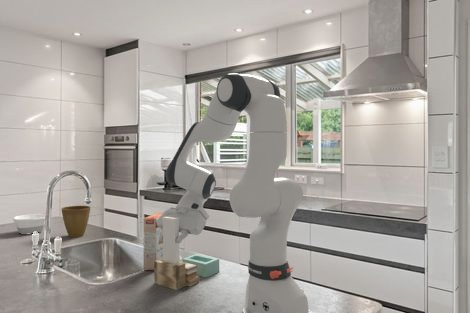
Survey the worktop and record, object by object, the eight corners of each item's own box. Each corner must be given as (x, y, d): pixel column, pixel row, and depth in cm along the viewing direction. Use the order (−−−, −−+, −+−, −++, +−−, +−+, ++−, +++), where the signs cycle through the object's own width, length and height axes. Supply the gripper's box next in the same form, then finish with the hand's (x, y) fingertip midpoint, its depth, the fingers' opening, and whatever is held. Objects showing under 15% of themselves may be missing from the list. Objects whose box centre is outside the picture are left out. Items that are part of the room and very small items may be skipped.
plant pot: (66, 240, 195) (65, 210, 195) (58, 235, 207) (58, 207, 206) (94, 236, 205) (94, 207, 204) (86, 231, 216) (85, 204, 216)
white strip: (179, 274, 130) (178, 218, 130) (175, 276, 129) (174, 219, 128) (167, 271, 134) (166, 216, 134) (163, 273, 132) (162, 217, 132)
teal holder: (219, 271, 144) (219, 258, 144) (206, 277, 138) (205, 264, 138) (196, 266, 151) (196, 253, 151) (182, 271, 145) (182, 258, 145)
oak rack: (185, 285, 130) (185, 263, 129) (176, 290, 126) (176, 266, 126) (163, 279, 136) (163, 258, 136) (154, 283, 132) (154, 261, 132)
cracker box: (157, 271, 145) (156, 218, 145) (143, 270, 147) (142, 218, 146) (170, 260, 159) (169, 212, 159) (157, 259, 160) (156, 211, 160)
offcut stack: (199, 282, 133) (199, 265, 133) (189, 286, 129) (189, 269, 129) (171, 274, 141) (171, 259, 141) (162, 278, 137) (161, 262, 137)
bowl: (46, 227, 228) (45, 212, 228) (50, 233, 214) (50, 216, 213) (12, 231, 218) (12, 215, 218) (14, 237, 204) (14, 220, 203)
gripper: (164, 202, 143) (145, 232, 135) (204, 206, 131) (185, 239, 123) (173, 212, 146) (154, 242, 138) (212, 216, 134) (195, 249, 126)
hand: (169, 240), depth 131 cm, fingers closed on white strip, 6 cm apart
